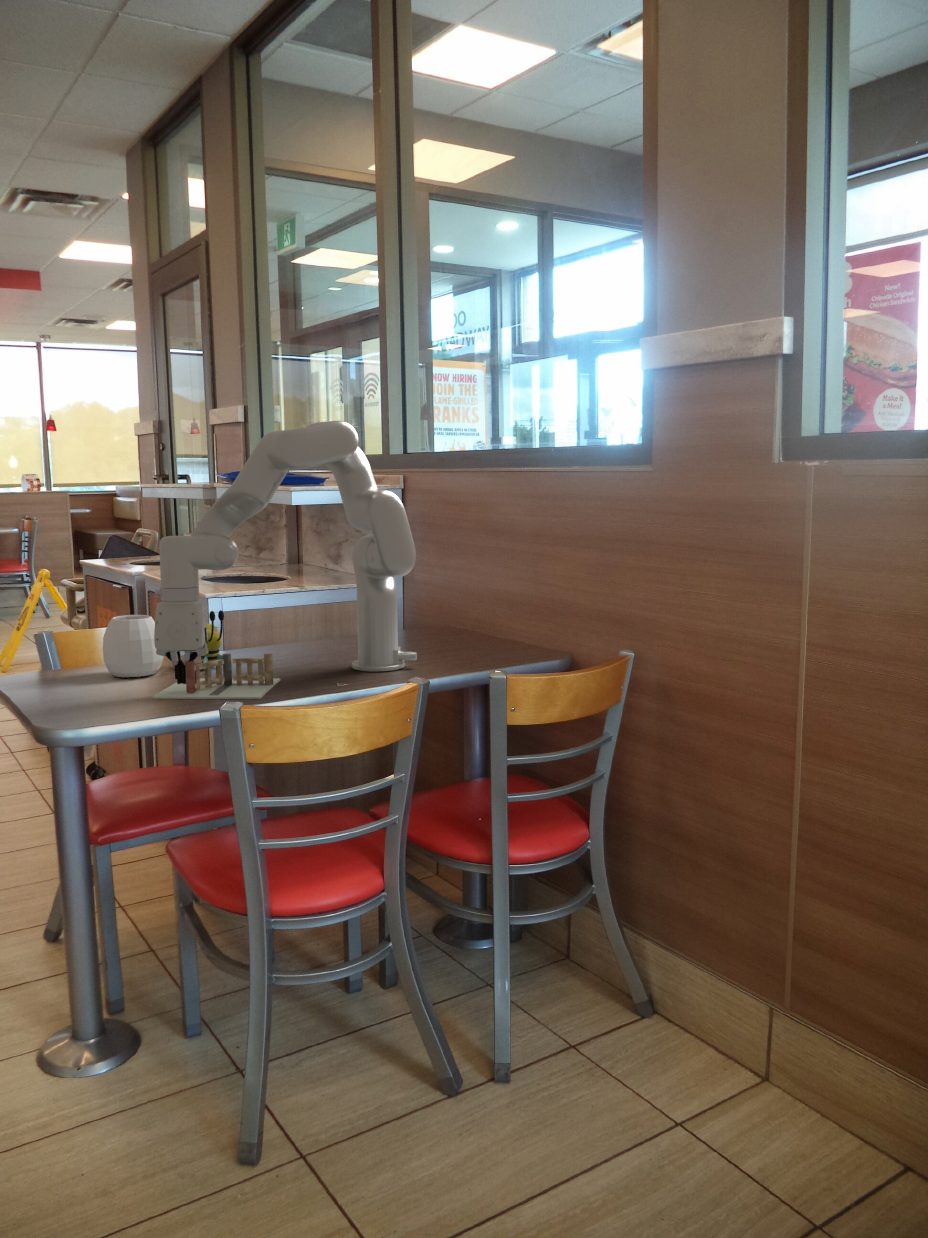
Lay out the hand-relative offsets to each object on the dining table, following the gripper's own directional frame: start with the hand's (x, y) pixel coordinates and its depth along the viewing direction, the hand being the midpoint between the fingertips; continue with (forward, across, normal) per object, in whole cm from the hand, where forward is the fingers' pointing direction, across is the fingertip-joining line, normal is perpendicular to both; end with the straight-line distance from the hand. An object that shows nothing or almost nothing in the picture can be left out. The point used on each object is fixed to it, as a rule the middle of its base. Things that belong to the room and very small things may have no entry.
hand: (183, 682), depth 202 cm
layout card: (+2, +6, +4) cm, 8 cm away
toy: (+2, -3, +29) cm, 29 cm away
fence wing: (+1, +4, +1) cm, 5 cm away
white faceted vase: (+3, -18, +19) cm, 26 cm away
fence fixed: (+2, +12, +7) cm, 14 cm away
